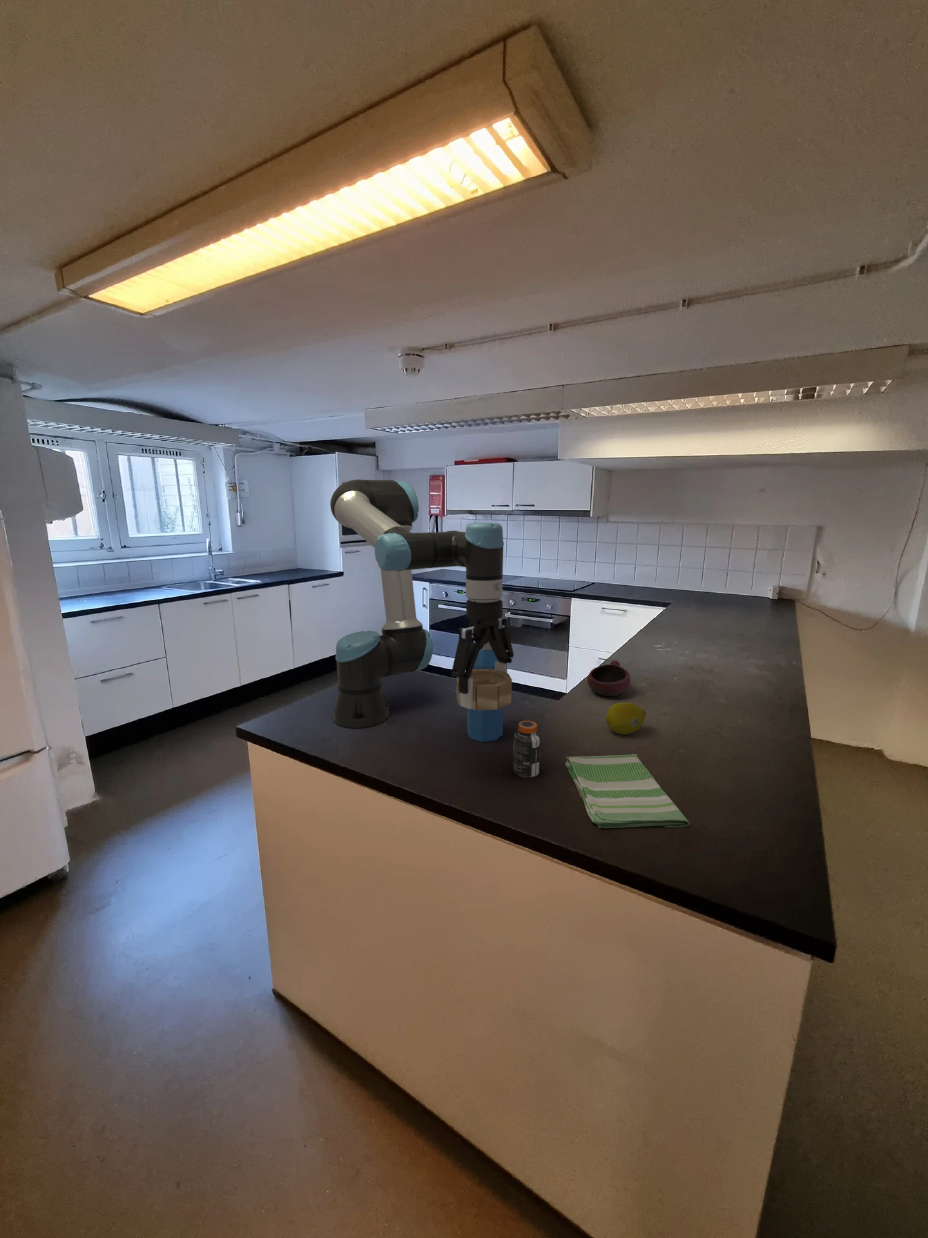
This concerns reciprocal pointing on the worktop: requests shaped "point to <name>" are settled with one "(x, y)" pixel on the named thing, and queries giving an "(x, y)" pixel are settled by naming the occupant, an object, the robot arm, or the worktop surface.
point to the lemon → (625, 717)
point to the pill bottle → (527, 750)
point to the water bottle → (485, 721)
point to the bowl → (609, 679)
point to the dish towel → (622, 793)
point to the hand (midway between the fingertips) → (484, 698)
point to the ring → (489, 689)
